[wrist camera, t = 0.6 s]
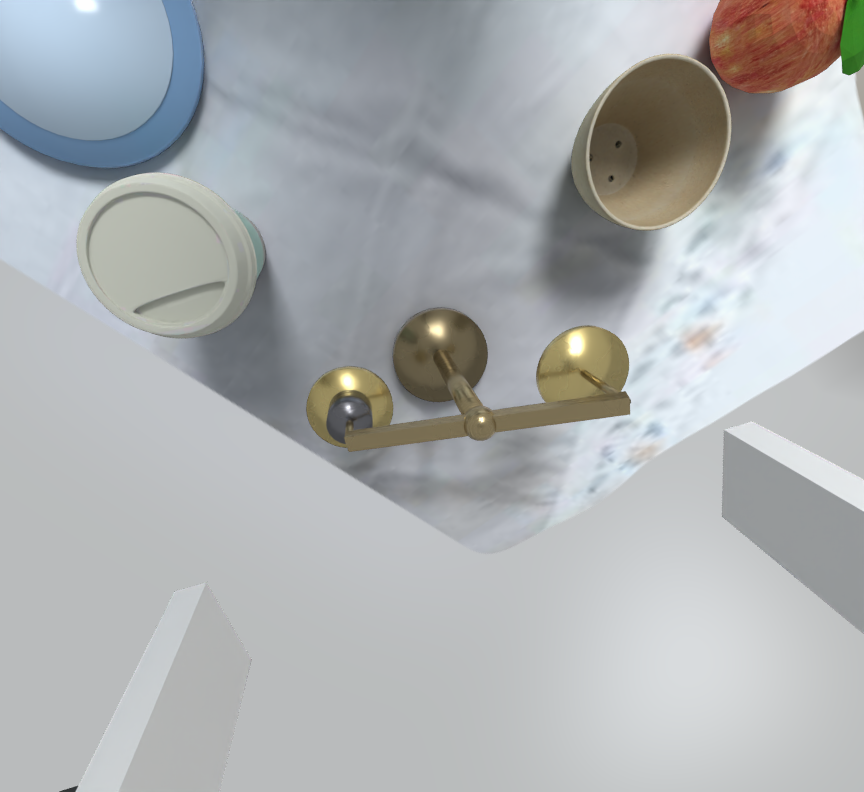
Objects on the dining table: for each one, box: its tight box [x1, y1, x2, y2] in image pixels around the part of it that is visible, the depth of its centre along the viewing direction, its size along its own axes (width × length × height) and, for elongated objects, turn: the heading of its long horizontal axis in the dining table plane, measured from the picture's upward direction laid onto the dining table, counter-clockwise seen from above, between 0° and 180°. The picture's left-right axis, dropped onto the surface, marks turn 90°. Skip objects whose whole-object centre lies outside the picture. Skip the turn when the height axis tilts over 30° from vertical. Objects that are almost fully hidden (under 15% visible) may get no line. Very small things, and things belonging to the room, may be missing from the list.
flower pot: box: [571, 54, 731, 231], centre depth 32 cm, size 10×10×7 cm
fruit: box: [709, 0, 864, 93], centre depth 29 cm, size 9×10×10 cm
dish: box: [0, 0, 204, 168], centre depth 28 cm, size 15×15×1 cm
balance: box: [306, 308, 631, 452], centre depth 31 cm, size 8×21×17 cm, turn 103°
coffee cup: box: [77, 173, 265, 338], centre depth 28 cm, size 8×8×12 cm
